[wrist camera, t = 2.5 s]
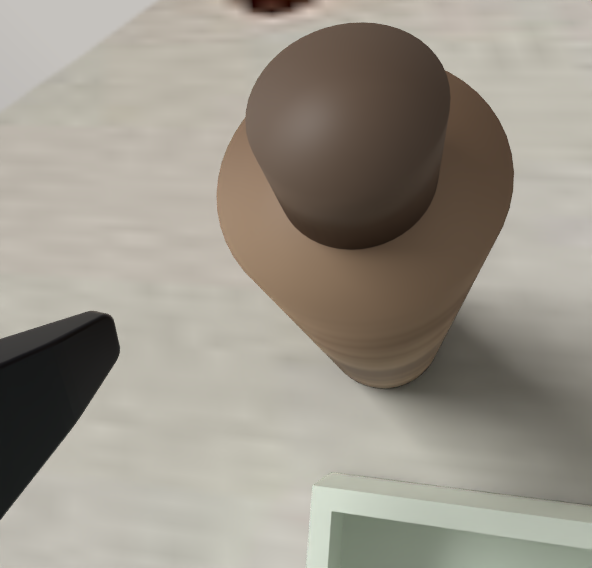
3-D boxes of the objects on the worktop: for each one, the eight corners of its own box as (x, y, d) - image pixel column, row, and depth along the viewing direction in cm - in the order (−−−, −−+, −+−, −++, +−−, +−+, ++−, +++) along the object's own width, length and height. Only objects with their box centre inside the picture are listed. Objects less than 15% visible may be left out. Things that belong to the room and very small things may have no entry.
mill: (439, 393, 17) (563, 291, 4) (322, 383, 18) (139, 277, 5) (440, 280, 18) (538, -62, 5) (330, 277, 19) (199, -18, 6)
